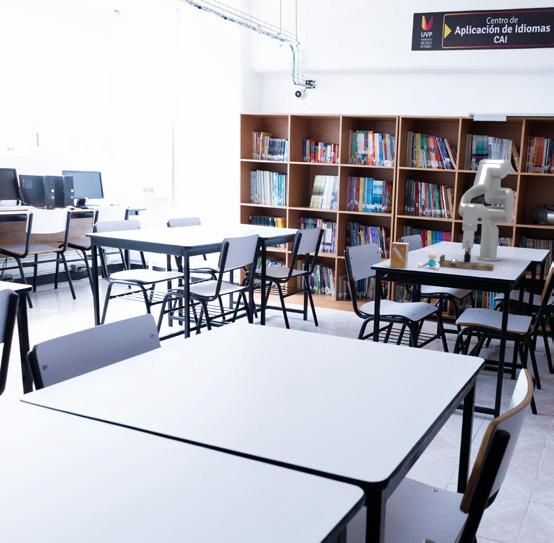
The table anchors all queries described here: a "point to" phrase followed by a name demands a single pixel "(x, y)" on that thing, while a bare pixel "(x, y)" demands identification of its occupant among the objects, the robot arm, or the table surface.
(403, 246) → the small box
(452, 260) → the ball
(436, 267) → the molecule model
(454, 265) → the deck
